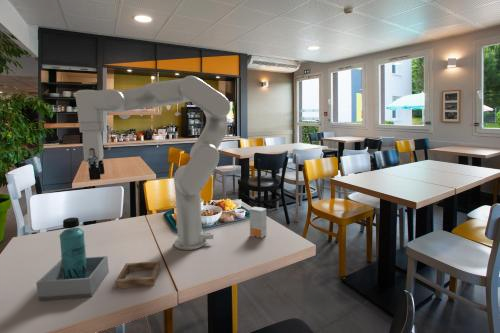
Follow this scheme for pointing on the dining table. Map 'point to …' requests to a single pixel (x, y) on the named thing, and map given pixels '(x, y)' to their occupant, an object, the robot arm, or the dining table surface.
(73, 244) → the beverage bottle
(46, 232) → the dining table surface
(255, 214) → the skincare box
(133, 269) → the collar
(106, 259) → the bin
